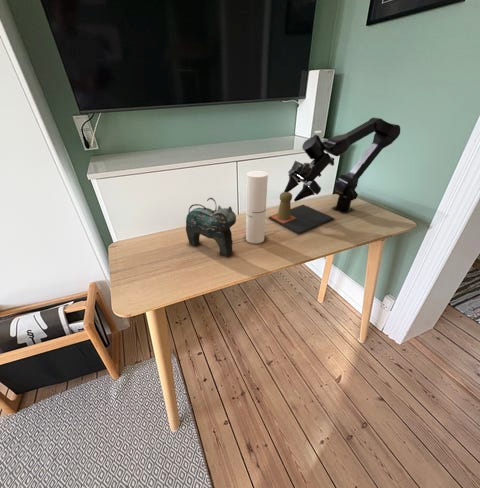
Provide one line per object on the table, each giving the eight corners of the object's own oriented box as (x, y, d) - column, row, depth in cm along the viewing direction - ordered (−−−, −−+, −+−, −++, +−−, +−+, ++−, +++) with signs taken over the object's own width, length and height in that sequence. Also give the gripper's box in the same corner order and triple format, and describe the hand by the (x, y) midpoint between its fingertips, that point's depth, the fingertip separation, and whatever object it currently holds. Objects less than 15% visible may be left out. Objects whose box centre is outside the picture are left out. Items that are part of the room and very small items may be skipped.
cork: (286, 221, 110) (288, 196, 103) (274, 217, 113) (276, 193, 106) (293, 216, 114) (296, 192, 107) (281, 213, 117) (283, 189, 110)
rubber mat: (302, 206, 125) (303, 204, 124) (333, 219, 113) (333, 217, 113) (268, 218, 115) (269, 216, 114) (298, 234, 103) (298, 232, 103)
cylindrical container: (263, 244, 98) (266, 177, 82) (244, 242, 99) (244, 176, 84) (265, 235, 103) (269, 171, 88) (247, 233, 104) (248, 170, 89)
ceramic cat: (238, 252, 93) (237, 199, 81) (228, 261, 89) (225, 207, 77) (195, 238, 102) (188, 189, 89) (184, 246, 97) (175, 195, 85)
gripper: (294, 147, 106) (268, 178, 110) (319, 159, 92) (288, 193, 96) (308, 165, 113) (283, 193, 117) (333, 178, 99) (304, 209, 103)
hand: (289, 196), depth 108 cm, fingers open, 9 cm apart
